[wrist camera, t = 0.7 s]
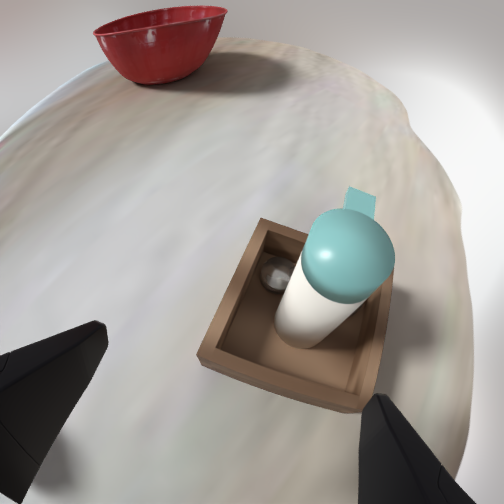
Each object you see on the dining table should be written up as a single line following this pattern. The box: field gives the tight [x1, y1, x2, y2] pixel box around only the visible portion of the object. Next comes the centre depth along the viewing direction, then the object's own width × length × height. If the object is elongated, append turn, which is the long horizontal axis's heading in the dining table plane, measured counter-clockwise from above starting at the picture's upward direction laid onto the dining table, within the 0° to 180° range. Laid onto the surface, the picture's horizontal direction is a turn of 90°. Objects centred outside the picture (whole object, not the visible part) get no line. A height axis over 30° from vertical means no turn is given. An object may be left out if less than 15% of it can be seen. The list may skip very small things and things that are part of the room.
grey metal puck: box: [260, 257, 295, 294], centre depth 26 cm, size 3×3×1 cm
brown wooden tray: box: [196, 218, 394, 413], centre depth 23 cm, size 13×13×4 cm
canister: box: [274, 186, 395, 349], centre depth 19 cm, size 7×5×12 cm
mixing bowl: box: [93, 6, 227, 85], centre depth 46 cm, size 28×28×16 cm
